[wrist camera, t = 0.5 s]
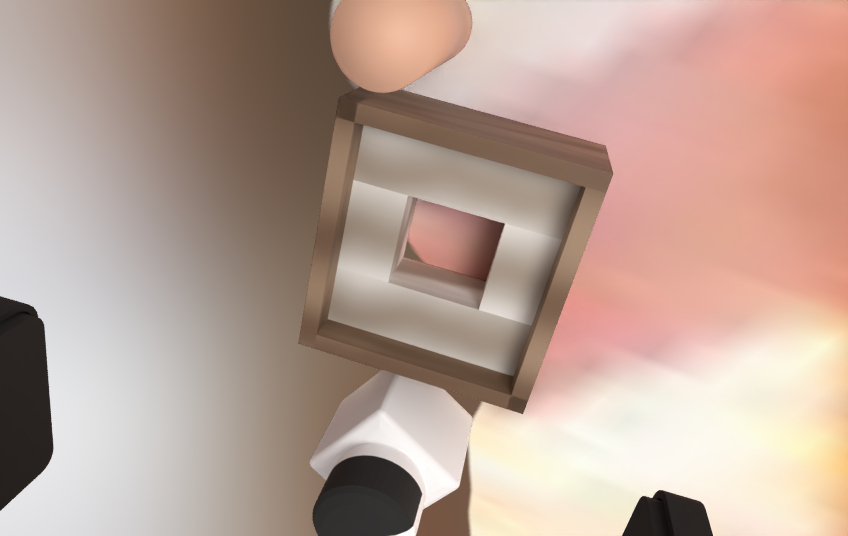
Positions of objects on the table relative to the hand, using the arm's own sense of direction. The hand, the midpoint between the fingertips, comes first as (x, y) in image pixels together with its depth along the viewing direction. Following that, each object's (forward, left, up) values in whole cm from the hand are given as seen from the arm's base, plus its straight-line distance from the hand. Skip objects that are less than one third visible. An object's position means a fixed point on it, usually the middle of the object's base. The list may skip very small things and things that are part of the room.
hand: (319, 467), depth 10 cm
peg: (-4, -5, -30) cm, 30 cm away
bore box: (+8, -1, -30) cm, 31 cm away
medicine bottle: (+22, -1, -30) cm, 37 cm away
